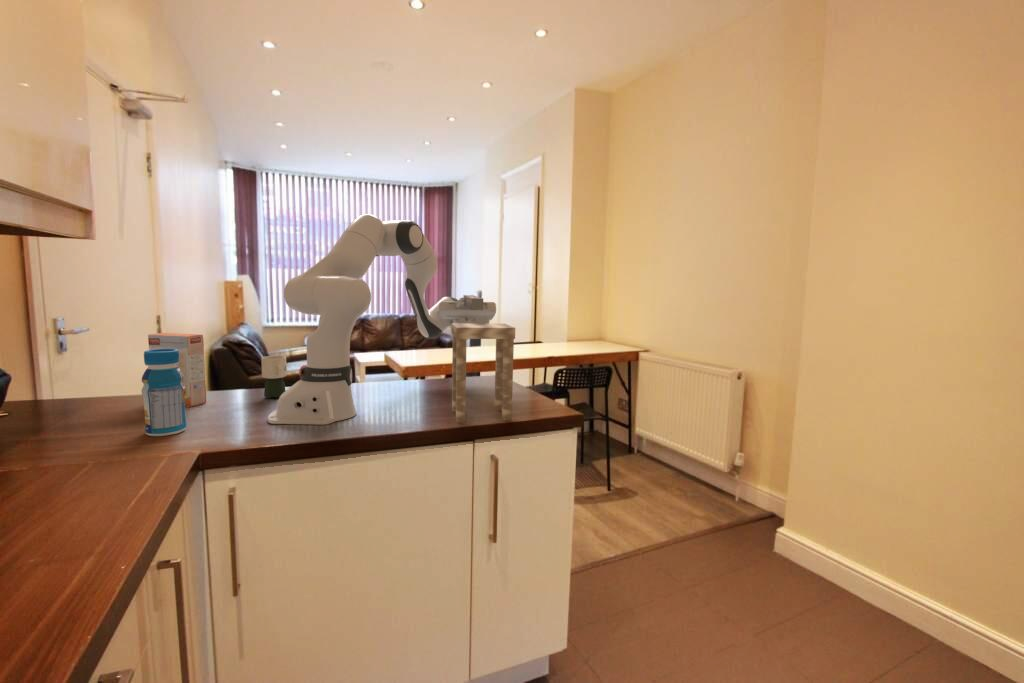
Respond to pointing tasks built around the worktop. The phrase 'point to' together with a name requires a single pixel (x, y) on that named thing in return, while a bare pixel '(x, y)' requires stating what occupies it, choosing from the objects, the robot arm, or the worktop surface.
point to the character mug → (274, 375)
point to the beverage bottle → (163, 393)
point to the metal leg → (473, 302)
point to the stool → (502, 368)
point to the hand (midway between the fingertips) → (469, 299)
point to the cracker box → (186, 362)
